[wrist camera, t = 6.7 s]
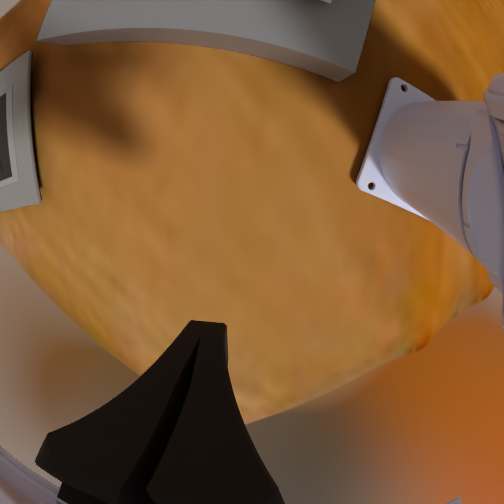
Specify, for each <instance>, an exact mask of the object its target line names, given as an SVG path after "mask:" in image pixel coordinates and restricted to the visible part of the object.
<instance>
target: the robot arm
mask: <svg viewBox="0 0 504 504" xmlns="http://www.w3.org/2000/svg"><path fill="white" fill-rule="evenodd" d="M401 85H403V86H404V87H405V91H404V92H403V91H402V89H401ZM483 98H484V101H436V100H434V99H433V98H431V97H430V96H428V95H427V94H425V93H424V92H422V91H420V90H419V89H417V88H416V87H414V86H412V85H411V84H409V83H407V82H405V81H404V80H402V79H400V78H398V77H394V78H391V79H390V80H389V83H388V86H387V90H386V93H385V97H384V100H383V103H382V106H381V110H380V113H379V116H378V119H377V122H376V125H375V128H374V131H373V134H372V137H371V140H370V143H369V146H368V149H367V152H366V155H365V158H364V160H363V163H362V166H361V169H360V171H359V174H358V177H357V179H356V185H357V187H358V188H359V189H360V190H362V191H364V192H367V193H369V194H372V195H374V196H376V197H379V198H381V199H384V200H386V201H388V202H390V203H393V204H395V205H397V206H399V207H402V208H404V209H406V210H408V211H410V212H413V213H415V214H417V215H419V216H421V217H423V218H425V219H427V220H429V221H431V222H432V223H434V224H435V225H436V226H438V227H439V228H440V229H442V230H443V231H444V232H445V233H447V234H448V235H449V236H450V237H452V238H453V239H454V240H455V241H456V242H458V243H459V244H460V245H461V246H462V247H464V248H465V249H466V250H467V251H468V252H469V253H471V254H472V255H473V256H474V257H475V258H476V259H477V260H478V261H479V262H480V263H482V264H483V265H484V266H485V267H486V268H487V270H488V274H489V281H490V282H491V283H492V284H493V285H494V286H495V287H496V288H497V289H498V290H499V291H500V292H501V293H502V294H503V301H502V309H501V321H502V326H503V331H504V73H500V74H497V75H494V76H493V77H492V79H491V81H490V84H489V87H488V88H487V89H486V90H485V91H484V94H483ZM371 182H373V187H372V188H371V189H368V184H369V183H371ZM227 366H228V344H227V326H226V325H225V324H224V323H216V322H205V321H194V320H191V321H190V322H189V323H188V324H187V325H186V327H185V328H184V329H183V330H182V332H181V333H180V334H179V335H178V337H177V338H176V339H175V340H174V341H173V343H172V344H171V345H170V346H169V347H168V348H167V349H166V351H165V352H164V353H163V354H162V355H161V356H160V357H159V358H158V359H157V361H156V362H155V363H154V364H153V365H152V366H151V367H150V368H149V369H148V370H147V371H146V372H145V373H144V374H142V375H141V376H140V377H139V378H138V379H137V380H136V381H135V382H134V383H133V384H131V385H130V386H129V387H128V388H126V390H124V391H123V392H121V393H120V394H119V395H117V396H116V397H115V398H113V399H112V400H111V401H109V402H108V403H106V404H105V405H103V406H102V407H100V408H99V409H97V410H95V411H93V412H92V413H90V414H88V415H87V416H85V417H83V418H81V419H80V420H77V421H75V422H73V423H71V424H69V425H67V426H64V427H62V428H60V429H57V430H55V431H53V432H50V433H48V434H47V436H46V438H45V440H44V442H43V444H42V446H41V448H40V450H39V453H38V455H37V457H36V460H35V462H36V465H38V466H39V467H40V468H42V469H43V470H45V471H46V472H47V473H49V474H50V475H52V476H54V477H55V478H57V479H58V480H60V481H61V482H62V484H61V487H58V486H56V485H54V484H53V483H51V482H49V481H48V480H46V479H45V478H43V477H41V476H40V475H38V474H37V473H35V472H34V471H32V470H31V469H29V468H28V467H26V466H25V465H24V464H22V463H21V462H19V461H18V460H17V459H15V458H14V457H13V456H12V455H11V454H9V453H8V452H7V451H6V450H4V449H3V448H2V447H1V446H0V504H285V503H284V500H283V498H282V496H281V494H280V491H279V489H278V487H277V485H276V483H275V482H274V480H273V478H272V477H271V475H270V474H269V472H268V470H267V469H266V467H265V465H264V463H263V462H262V460H261V458H260V456H259V454H258V452H257V450H256V448H255V446H254V444H253V442H252V440H251V438H250V436H249V434H248V431H247V429H246V427H245V424H244V422H243V419H242V417H241V414H240V411H239V408H238V405H237V402H236V399H235V396H234V393H233V389H232V385H231V381H230V377H229V372H228V367H227ZM446 504H461V500H460V498H459V497H458V498H456V499H454V500H452V501H450V502H448V503H446Z"/></svg>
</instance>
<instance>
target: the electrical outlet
mask: <svg viewBox="0 0 504 504" xmlns="http://www.w3.org/2000/svg"><path fill="white" fill-rule="evenodd" d="M32 58H33V53H32V50H28V51H27V52H26V53H24V54H23V55H21V56H20V57H18V58H17V59H16V60H14V61H13V62H12V63H10V64H9V65H8V66H6V67H5V68H4V69H3V70H1V71H0V212H1V211H6V210H10V209H15V208H19V207H24V206H29V205H34V204H39V203H41V200H42V197H41V193H40V187H39V182H38V176H37V169H36V162H35V155H34V146H33V135H32V120H31V72H32Z"/></svg>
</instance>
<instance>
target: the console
mask: <svg viewBox="0 0 504 504" xmlns="http://www.w3.org/2000/svg"><path fill="white" fill-rule="evenodd" d="M374 3H375V0H332V1H331V3H327V2H324V1H320V0H52V2H51V4H50V6H49V9H48V11H47V13H46V16H45V18H44V21H43V24H42V26H41V29H40V32H39V35H38V38H37V41H41V42H47V43H53V44H58V45H63V46H70V45H78V44H88V43H101V42H163V43H177V44H187V45H196V46H204V47H211V48H217V49H223V50H229V51H234V52H239V53H244V54H249V55H253V56H257V57H261V58H265V59H269V60H273V61H277V62H280V63H284V64H287V65H291V66H294V67H297V68H300V69H303V70H306V71H309V72H312V73H315V74H318V75H321V76H324V77H326V78H329V79H332V80H334V81H337V82H339V81H341V80H343V79H345V78H346V77H348V76H350V75H352V74H354V73H355V72H356V69H357V65H358V62H359V58H360V55H361V52H362V48H363V45H364V41H365V37H366V34H367V30H368V26H369V23H370V19H371V15H372V11H373V7H374Z"/></svg>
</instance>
